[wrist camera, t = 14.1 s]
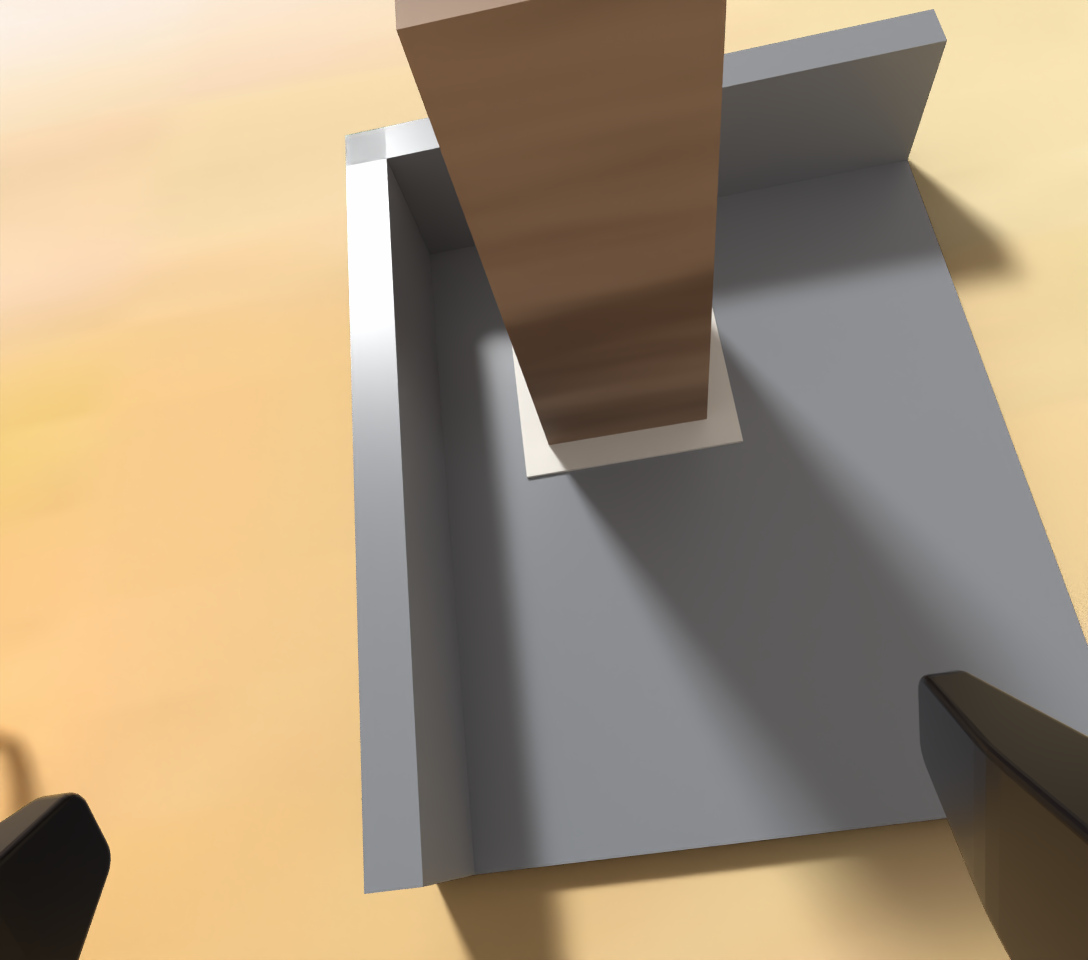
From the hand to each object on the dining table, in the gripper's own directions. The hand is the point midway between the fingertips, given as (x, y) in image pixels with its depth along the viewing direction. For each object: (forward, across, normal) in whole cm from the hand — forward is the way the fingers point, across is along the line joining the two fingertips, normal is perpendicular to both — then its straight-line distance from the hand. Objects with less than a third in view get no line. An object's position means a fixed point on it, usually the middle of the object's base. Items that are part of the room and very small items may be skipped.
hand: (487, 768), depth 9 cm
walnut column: (+18, -2, +1) cm, 18 cm away
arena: (+16, -4, +3) cm, 17 cm away
